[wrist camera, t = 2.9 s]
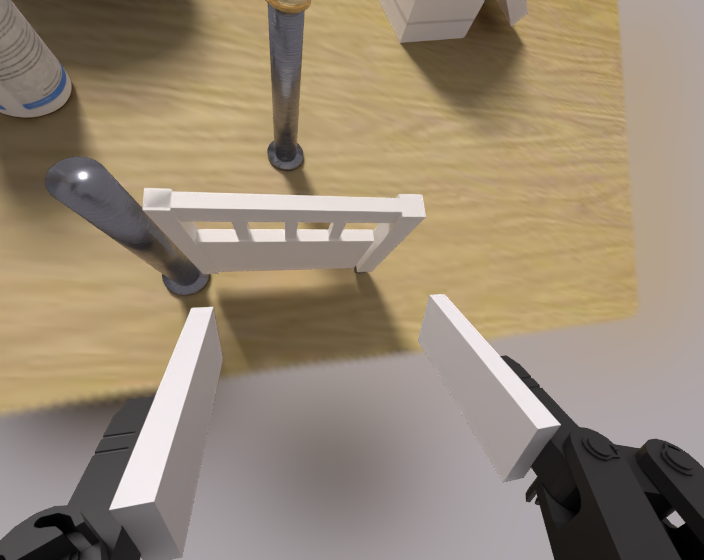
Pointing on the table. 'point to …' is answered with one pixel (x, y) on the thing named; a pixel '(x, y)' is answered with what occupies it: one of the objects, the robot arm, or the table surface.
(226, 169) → the table surface
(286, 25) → the latch post
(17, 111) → the supplement tub
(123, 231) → the hinge post
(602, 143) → the table surface
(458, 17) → the pizza boxes
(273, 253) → the gate
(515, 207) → the table surface
